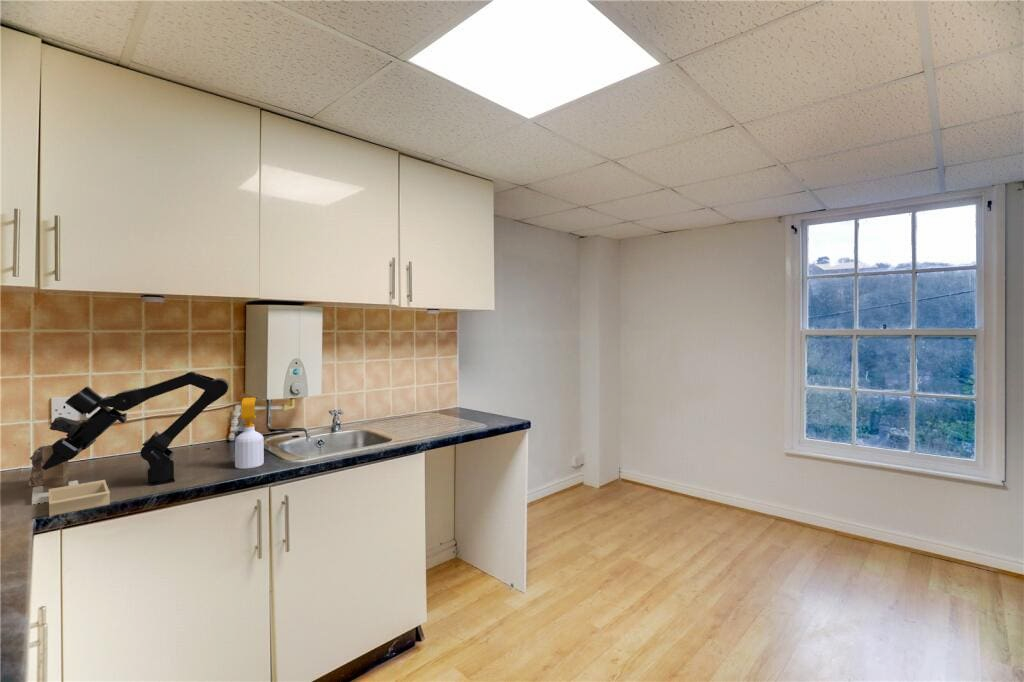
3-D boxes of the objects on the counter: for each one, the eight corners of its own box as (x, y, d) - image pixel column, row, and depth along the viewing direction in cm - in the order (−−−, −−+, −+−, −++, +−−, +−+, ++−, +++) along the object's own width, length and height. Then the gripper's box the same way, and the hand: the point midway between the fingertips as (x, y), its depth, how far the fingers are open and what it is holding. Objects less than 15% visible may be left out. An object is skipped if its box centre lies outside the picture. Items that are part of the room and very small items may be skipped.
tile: (77, 484, 149) (77, 480, 149) (80, 496, 140) (80, 491, 140) (32, 492, 142) (32, 487, 142) (32, 505, 133) (31, 499, 132)
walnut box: (68, 485, 144) (67, 443, 144) (63, 490, 140) (62, 446, 140) (48, 488, 142) (47, 445, 141) (43, 492, 138) (42, 448, 138)
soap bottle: (264, 461, 177) (264, 395, 177) (262, 467, 169) (261, 399, 168) (237, 463, 174) (236, 397, 173) (233, 470, 166) (232, 400, 165)
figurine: (33, 481, 153) (32, 444, 152) (62, 478, 156) (62, 442, 156) (24, 487, 146) (24, 449, 146) (55, 484, 150) (55, 446, 150)
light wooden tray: (105, 492, 143) (105, 479, 143) (110, 505, 132) (110, 492, 132) (49, 502, 135) (48, 489, 135) (49, 517, 124) (49, 503, 124)
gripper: (81, 403, 150) (35, 441, 145) (61, 412, 134) (7, 455, 129) (114, 425, 154) (70, 463, 149) (97, 437, 138) (47, 480, 133)
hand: (49, 464), depth 140 cm, fingers open, 9 cm apart
